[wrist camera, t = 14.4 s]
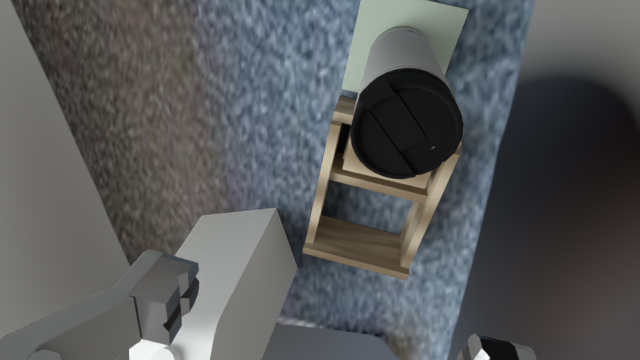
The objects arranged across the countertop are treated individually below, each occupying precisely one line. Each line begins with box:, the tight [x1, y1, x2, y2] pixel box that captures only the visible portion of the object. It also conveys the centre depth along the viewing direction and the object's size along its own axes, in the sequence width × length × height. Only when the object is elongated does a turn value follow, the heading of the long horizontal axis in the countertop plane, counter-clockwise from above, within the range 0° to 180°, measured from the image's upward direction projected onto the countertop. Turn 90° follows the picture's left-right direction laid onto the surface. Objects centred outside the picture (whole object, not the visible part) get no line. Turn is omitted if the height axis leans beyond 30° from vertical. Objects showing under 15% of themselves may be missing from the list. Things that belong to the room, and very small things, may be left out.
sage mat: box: [342, 0, 469, 93], centre depth 36 cm, size 10×10×1 cm
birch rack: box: [303, 96, 462, 280], centre depth 41 cm, size 18×13×7 cm
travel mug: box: [350, 26, 463, 179], centre depth 28 cm, size 6×7×20 cm
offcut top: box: [343, 139, 432, 189], centre depth 38 cm, size 5×9×2 cm, turn 80°
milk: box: [129, 208, 298, 360], centre depth 43 cm, size 12×12×26 cm
